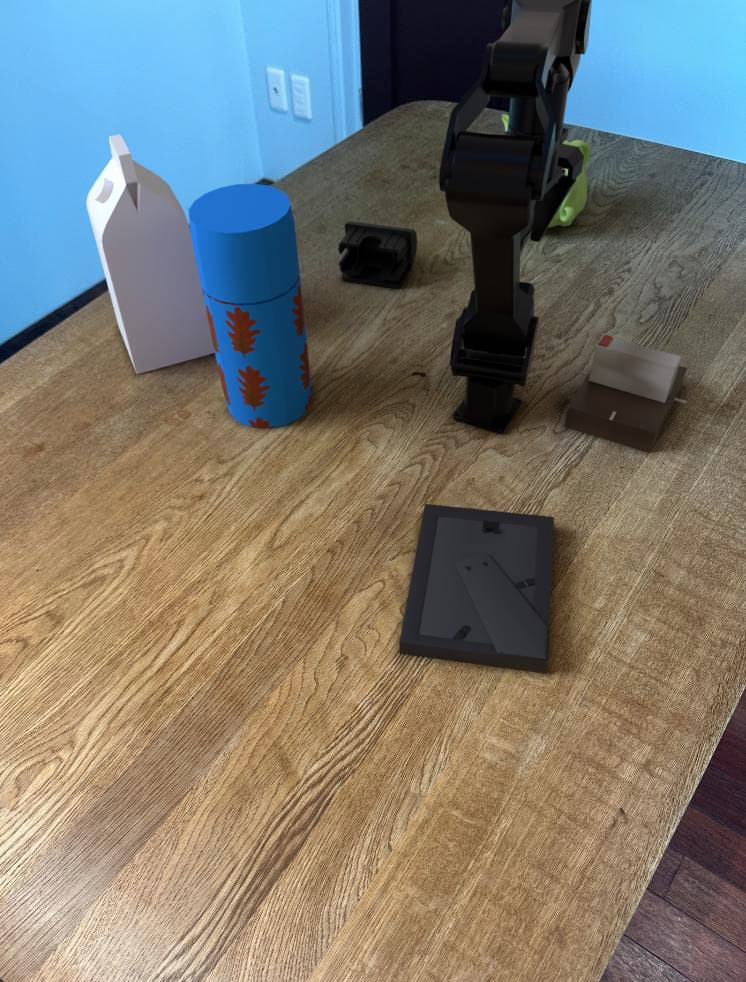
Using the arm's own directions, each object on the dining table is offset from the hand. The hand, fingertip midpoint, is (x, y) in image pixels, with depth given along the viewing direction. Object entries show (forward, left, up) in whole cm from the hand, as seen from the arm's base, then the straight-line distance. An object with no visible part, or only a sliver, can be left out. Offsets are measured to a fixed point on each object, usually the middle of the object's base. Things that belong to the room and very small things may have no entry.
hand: (519, 258), depth 97 cm
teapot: (+33, +10, -12) cm, 37 cm away
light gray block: (-6, -17, -9) cm, 20 cm away
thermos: (-24, +22, -12) cm, 35 cm away
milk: (-19, +42, -12) cm, 48 cm away
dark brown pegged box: (-6, -17, -12) cm, 22 cm away
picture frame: (-39, -13, -12) cm, 43 cm away
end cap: (+8, +24, -12) cm, 28 cm away
